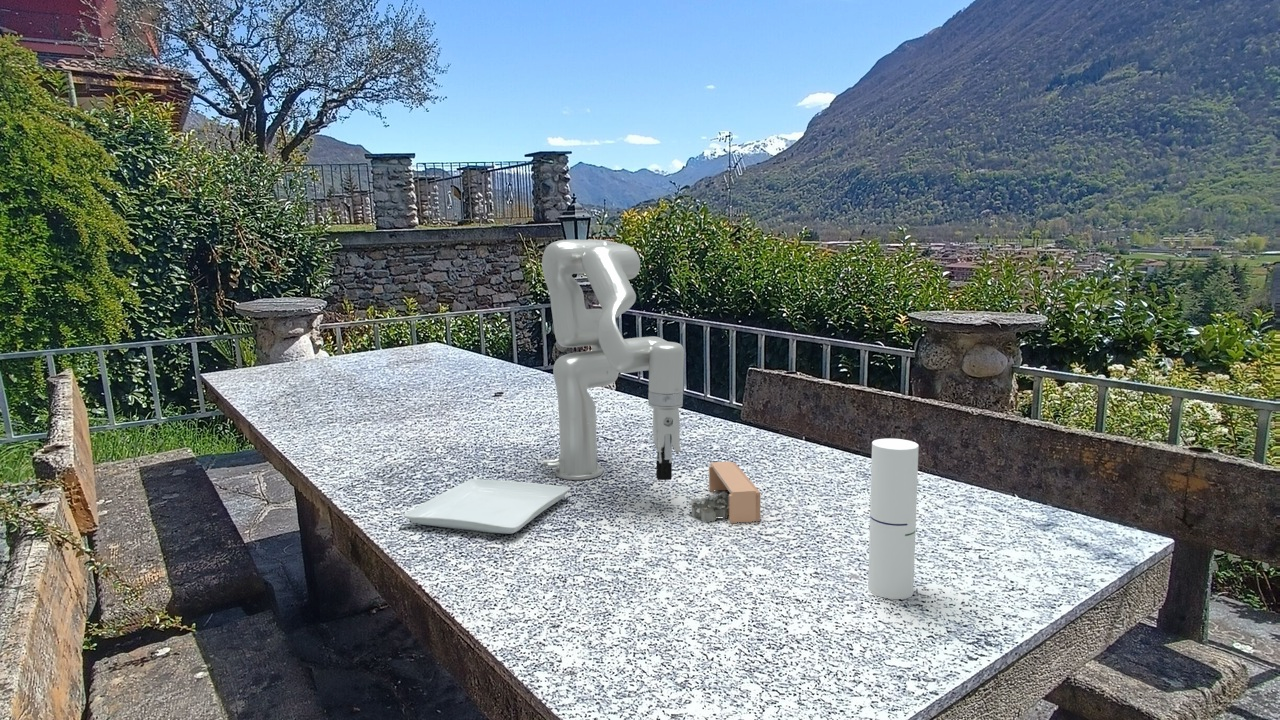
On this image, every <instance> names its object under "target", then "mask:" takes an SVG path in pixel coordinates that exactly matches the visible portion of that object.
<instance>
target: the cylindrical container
mask: <svg viewBox="0 0 1280 720" xmlns="http://www.w3.org/2000/svg"><path fill="white" fill-rule="evenodd" d="M919 448H920V447H919V444H918V443H917V442H915V441H912V440H908V439H902V438H878V439H874V440H873V441H872V442H871V465H870V466H871V469H870V470H871V471H870V503H869V505H870V509H869V515H870V516H869V537H868V538H869V543H868V545H869V547H868V549H869V550H868V575H867V577H868V578H867V579H868V580H867V581H868V582H867V587H868V590H870V591H871V592H872V594H873V595H875V596H877V597H880V598H882V597H884V598H883V599H886V598H888V599H887V600H893V599H901V600H906V599H909V598H911V597H912V596H913V595H914V582H915V581H914V580H915V579H914V578H915V560H916V559H915V556H916V555H915V554H916V553H915V551H916V549H915V548H916V530H917V528H916V525H917V505H918V504H917V503H918V502H917V500H918V499H917V498H918V478H919V477H918V475H919V473H918V472H919V471H918V470H919V469H918V468H919ZM870 591H869V592H870Z"/></svg>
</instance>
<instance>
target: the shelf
mask: <svg viewBox="0 0 1280 720" xmlns="http://www.w3.org/2000/svg"><path fill="white" fill-rule="evenodd" d="M709 490H710V491H713V492H715V491H714V490H728V491H727V492H729V493H728V495H729V516H728V523H729V522H730V523H732V524H740V523H739V522H749V523H758V522H757V521H760V522H761V491H760V490H759V489H758V488H757V486H755V484H754V483H753V482H752V481H751V480H750V478H749V477H748V476H747V475H746V474H745V472H744V471H743V470H742V469H741V468H740V466H739V465H738V464H737V463H736V462H732V461H716V462H715V461H713V462H712V461H711V462H710V465H708V491H709ZM710 491H709V492H710ZM752 521H753V522H752ZM754 521H756V522H754ZM737 522H738V523H737ZM730 523H729V524H730Z"/></svg>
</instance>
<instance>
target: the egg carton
mask: <svg viewBox="0 0 1280 720" xmlns="http://www.w3.org/2000/svg"><path fill="white" fill-rule="evenodd" d="M687 505H688V506H691V517H692V516H693V517H692V518H694V517H695V518H700V517H701V518H700V519H701V520H702V521H701V522H703V521H704V522H703V523H706V522H705V521H715V520H716V521H717V519H716V517H723V518H726V517H727V518H728V517H729V516H728V515H729V493H728V492H727V491H720V492H719V493H718V494H713V495H707V496H705V497H702V498H693V499H691V500H690V501H689V503H688V504H687ZM727 518H726V519H727ZM716 521H715V522H716Z"/></svg>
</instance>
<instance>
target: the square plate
mask: <svg viewBox="0 0 1280 720" xmlns="http://www.w3.org/2000/svg"><path fill="white" fill-rule="evenodd" d="M570 490H571V487H570V486H564V485H556V484H555V485H554V484H553V485H552V484H545V483H537V482H536V483H535V482H525V481H515V480H512V481H511V480H498V479H482V478H481V479H480V478H470V479H468V480H466V481H464V482H462V483H460V484H458V485H456V486H454V487H452V488H449V489H448V490H445V491H443V492H441V493H440V494H437V495H435V496H434V497H432V498H431V499H429V500H427V501H424V503H421V504H420V505H418V506H416V507H414V508H413V509H411V510H410V511H408V512H406V513H404V514H403V515H402V517H404V519H407V520H409V521H410V522H412V523H415V524H418V525H423V526H424V525H425V526H430V527H431V526H432V527H439V528H447V529H455V530H464V531H465V530H466V531H473V532H474V531H475V532H480V533H481V532H483V533H492V534H506V535H507V534H509V535H510V534H514V533H516V532H518V531H519V530H522V528H523V527H525V526H526V525H527V524H529V523H530V522H531V521H533V520H534V519H535V518H536V517H538V516H539V515H540V514H542V513H543V512H544V511H546V510H547V509H549V508H550V507H552V506H554V505H555V504H556V503H558V502H559V501H560V500H562V499H563V498H564V497H565V496H566V495H567V493H568V492H569V491H570Z"/></svg>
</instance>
